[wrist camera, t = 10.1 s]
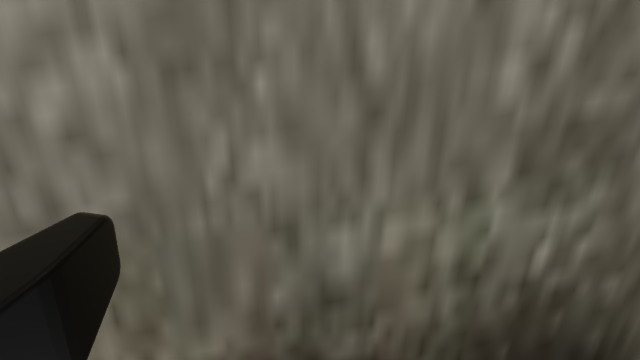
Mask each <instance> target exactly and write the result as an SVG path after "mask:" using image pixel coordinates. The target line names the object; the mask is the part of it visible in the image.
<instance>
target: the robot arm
mask: <svg viewBox="0 0 640 360" xmlns="http://www.w3.org/2000/svg"><path fill="white" fill-rule="evenodd" d="M119 275H120V258H119V252H118V246H117V240H116V234H115V228H114V224H113V221H112V220H111V218H110V217H108V216H106V215H100V214H93V213H85V212H80V213H76V214H74V215H72V216H70V217H68V218H66V219H64V220H62V221H60V222H58V223H56V224H54V225H52V226H50V227H48V228H46V229H44V230H42V231H40V232H38V233H36V234H34V235H32V236H30V237H28V238H26V239H24V240H22V241H20V242H18V243H16V244H14V245H12V246H11V247H9V248H7V249H5V250H3V251H1V252H0V360H87V359H88V356H89V354H90V351H91V348H92V346H93V343H94V341H95V338H96V336H97V333H98V331H99V328H100V325H101V323H102V320H103V318H104V315H105V313H106V310H107V307H108V305H109V302H110V300H111V297H112V295H113V292H114V290H115V287H116V284H117V282H118V279H119Z"/></svg>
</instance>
